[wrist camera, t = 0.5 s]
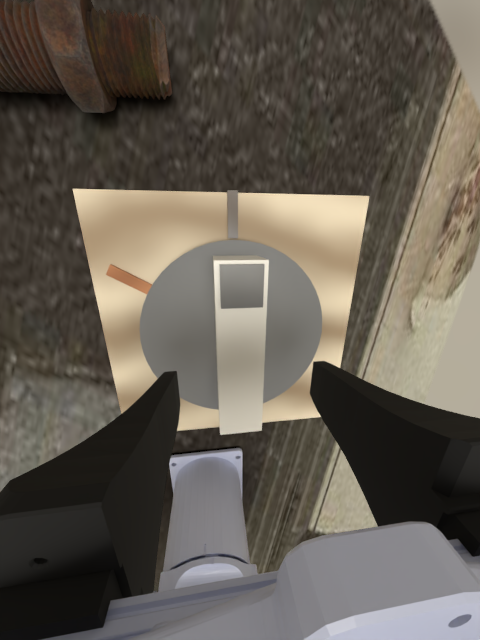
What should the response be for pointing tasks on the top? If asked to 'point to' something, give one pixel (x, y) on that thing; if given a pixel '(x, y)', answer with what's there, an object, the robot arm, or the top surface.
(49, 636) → the robot arm
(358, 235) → the dial board
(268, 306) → the dial
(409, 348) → the top surface
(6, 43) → the bolt
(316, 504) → the top surface
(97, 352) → the top surface
